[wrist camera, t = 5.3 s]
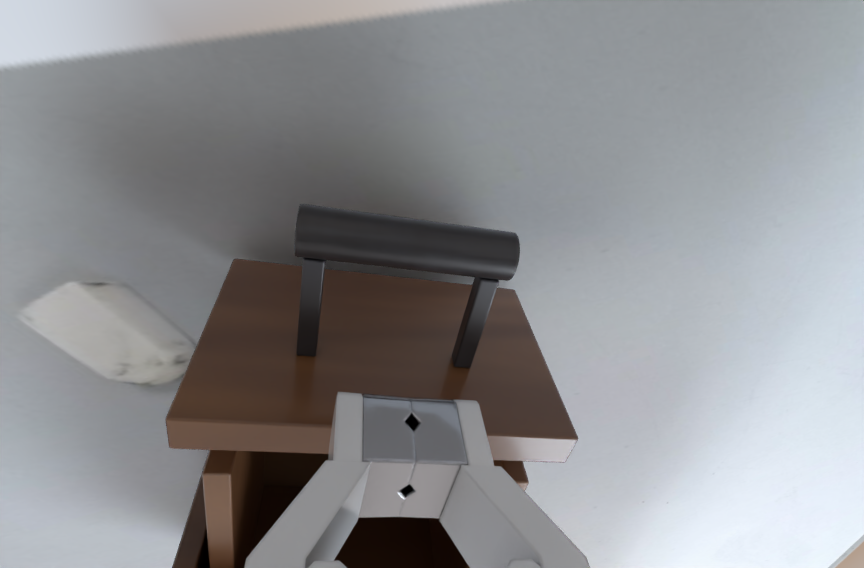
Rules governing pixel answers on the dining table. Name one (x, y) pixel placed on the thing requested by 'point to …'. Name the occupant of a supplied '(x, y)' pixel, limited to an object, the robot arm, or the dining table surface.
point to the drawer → (358, 372)
